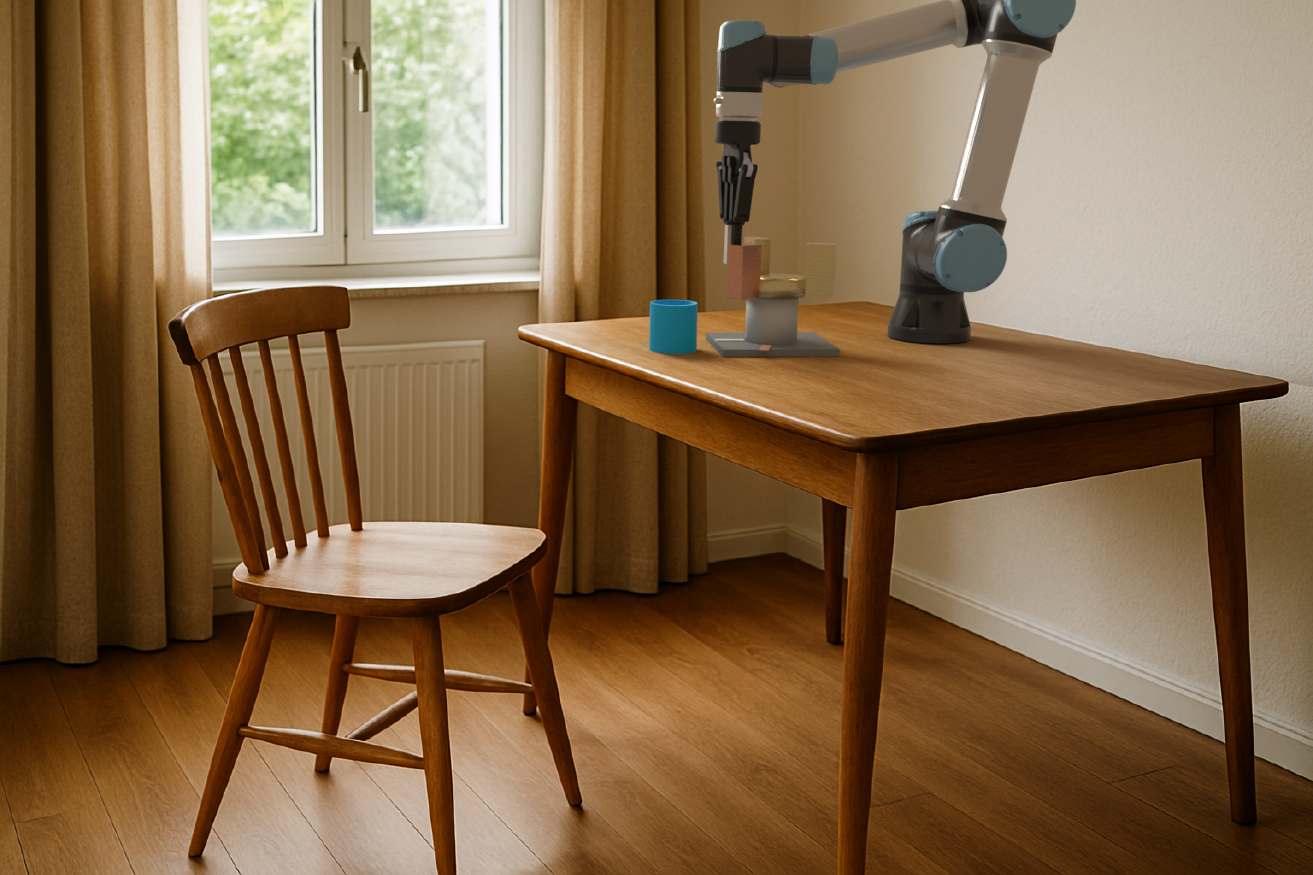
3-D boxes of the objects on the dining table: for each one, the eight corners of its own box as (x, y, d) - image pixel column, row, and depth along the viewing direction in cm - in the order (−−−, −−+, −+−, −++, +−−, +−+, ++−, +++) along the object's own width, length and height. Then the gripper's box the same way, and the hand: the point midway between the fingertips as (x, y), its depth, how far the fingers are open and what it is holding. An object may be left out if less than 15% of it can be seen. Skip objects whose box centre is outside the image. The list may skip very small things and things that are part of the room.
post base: (814, 338, 229) (816, 289, 227) (842, 358, 210) (845, 304, 208) (706, 339, 226) (707, 289, 224) (724, 358, 207) (726, 304, 205)
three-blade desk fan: (751, 286, 228) (753, 236, 226) (841, 296, 215) (844, 244, 213) (689, 293, 216) (691, 241, 213) (781, 305, 203) (783, 249, 201)
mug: (704, 352, 213) (705, 305, 211) (660, 355, 210) (661, 306, 208) (676, 341, 224) (677, 296, 222) (634, 343, 221) (634, 297, 219)
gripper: (703, 119, 210) (698, 259, 216) (731, 119, 198) (725, 268, 204) (744, 120, 213) (739, 259, 218) (774, 120, 201) (767, 267, 206)
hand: (732, 263), depth 211 cm, fingers closed
